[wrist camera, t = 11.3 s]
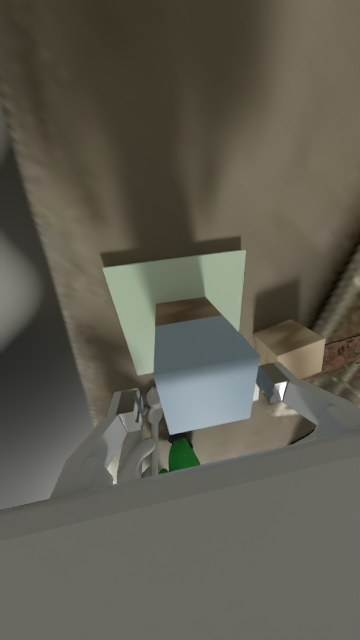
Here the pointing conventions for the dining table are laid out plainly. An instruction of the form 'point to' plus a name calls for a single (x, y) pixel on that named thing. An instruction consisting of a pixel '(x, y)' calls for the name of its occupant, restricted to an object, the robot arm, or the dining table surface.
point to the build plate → (172, 294)
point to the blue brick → (203, 373)
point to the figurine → (141, 444)
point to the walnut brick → (184, 311)
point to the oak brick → (291, 348)
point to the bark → (338, 356)
